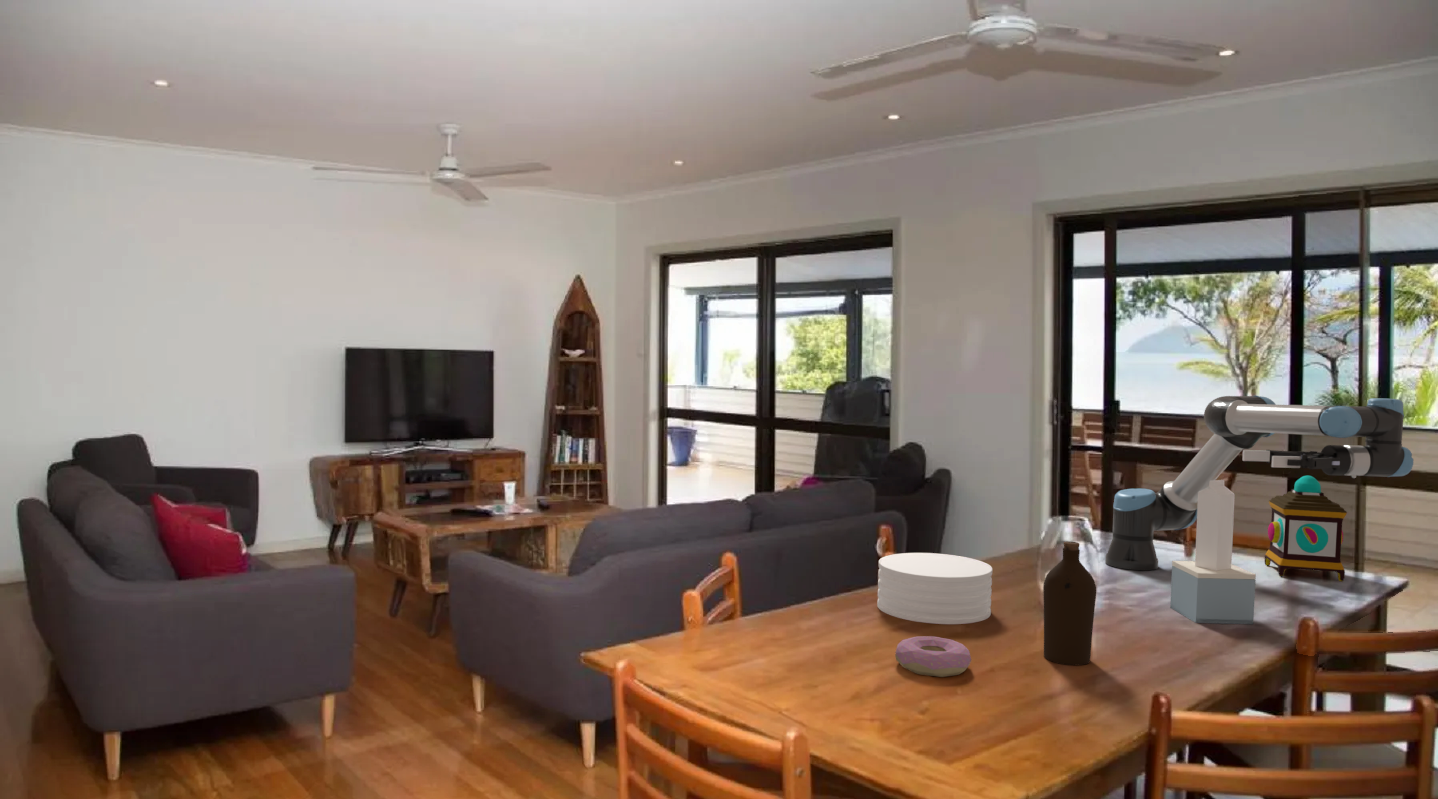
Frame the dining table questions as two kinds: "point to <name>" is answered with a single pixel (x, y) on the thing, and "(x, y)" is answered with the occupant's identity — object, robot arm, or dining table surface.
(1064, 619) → the olive oil
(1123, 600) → the dining table surface
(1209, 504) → the milk
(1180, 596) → the box
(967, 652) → the donut
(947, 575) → the plate stack
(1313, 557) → the decorative lantern
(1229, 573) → the lid
